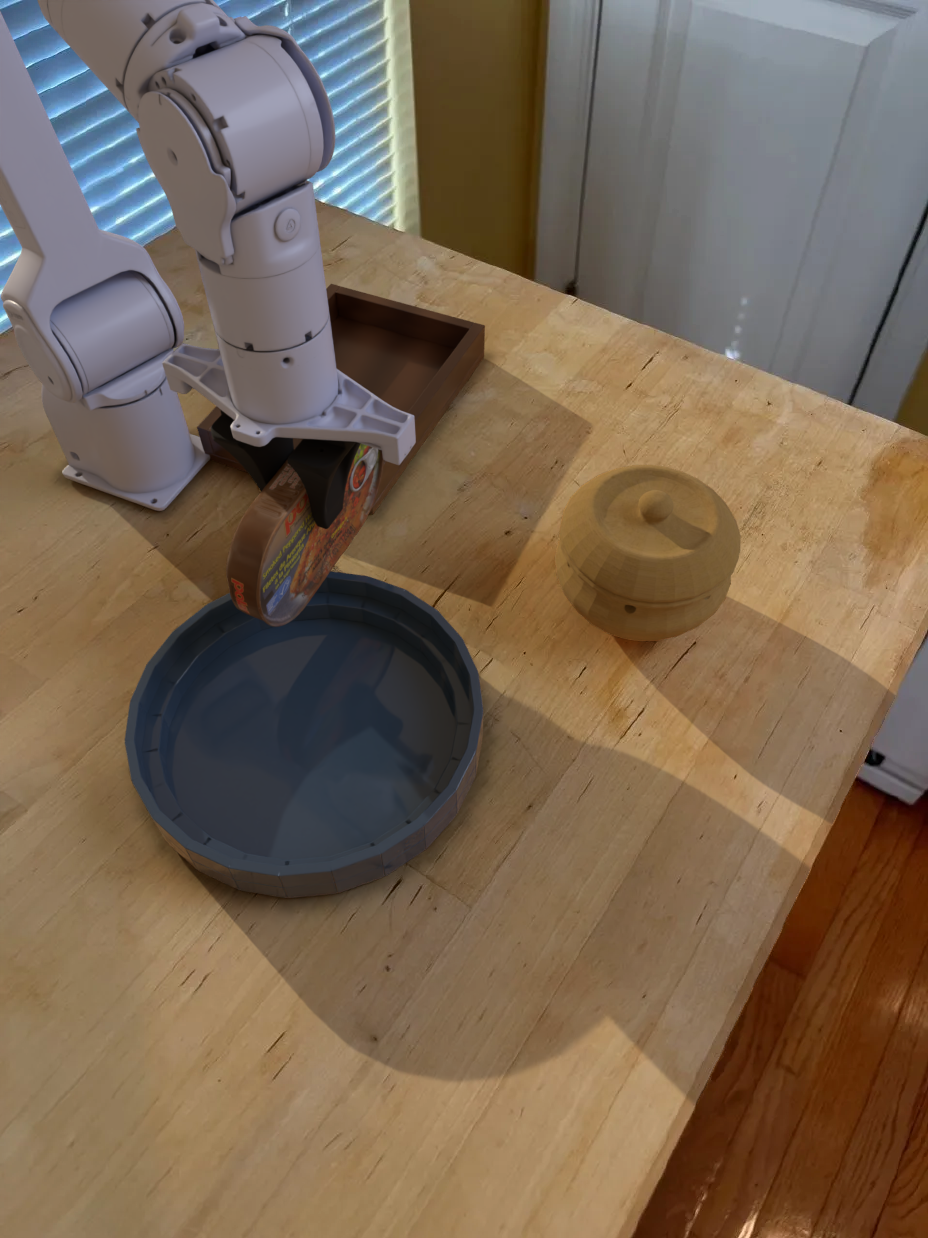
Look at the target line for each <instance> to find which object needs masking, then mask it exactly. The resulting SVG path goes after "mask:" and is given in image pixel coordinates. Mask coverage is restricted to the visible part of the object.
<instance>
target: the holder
mask: <svg viewBox="0 0 928 1238" xmlns="http://www.w3.org/2000/svg"><path fill="white" fill-rule="evenodd" d="M326 291H327V299H328V307H329V314H330V322H331V330H332V338H333V345H334V353H335V361H336V368H337V369H338V370H339V371H341V372H342V373H344V374H345V375H346V376H348V377H349V378H351V379H352V380H354V381H355V382H357V383H358V384H360V385H361V386H362V387H364V388H365V389H367V390H368V391H370V392H371V393H373V394H374V395H376V396H377V397H378V398H380V399H381V400H383V401H384V402H386V403H387V404H389V405H391V406H392V407H394V408H396V409H398V410H401V411H403V412H406V413H409V414H411V415H414V418H415V437H416V443H415V444H414V446H413V447H412V449H411V450H410V452H409V453H408V455H407V456H406V457H405V458H404V460H403V461H402V462H401V464H400V465H396V464H393V463H390V462H387V461H385V460H384V461H383V470H382V476H381V481H380V485H379V489H378V493H377V495H376V498H375V501H374V504H373V506H372V508H371V510H370V513H369V515H374V514H375V512H376V511H377V510H378V508H379V507H380V506H381V504H382V502H383V501H384V500H385V498H386V497H387V495H388V494H389V493H390V491H391V490H392V488H393V487H394V486H395V484H396V483H397V481H398V480H399V479H400V478H401V476H402V474H403V473H404V472H405V470H406V469H407V467H408V466H409V465H410V463H411V461H412V460H413V459H414V457H415V456H416V455H417V453H418V451H419V450H420V449H421V447H423V445H424V443H425V442H426V440H427V439H428V438H429V436H430V435H431V433H432V432H433V430H434V429H435V427H436V426H437V425H438V423H439V422H440V420H441V419H442V418H443V417H444V415H445V413H446V412H447V411H448V409H449V408H450V407H451V405H452V404H453V402H454V401H455V399H456V398H457V396H458V395H459V394H460V393H461V391H462V389H463V388H464V386H466V384H467V382H468V381H469V380H470V378H471V376H472V375H473V374H474V372H475V371H476V369H477V368H478V367H479V365H480V364H481V363H482V361H483V360H484V358H485V345H486V344H485V340H486V339H485V335H486V325H485V324H481V323H478V322H474V321H471V320H466V319H463V318H460V317H455V316H452V315H449V314H444V313H441V312H437V311H434V310H430V309H426V308H422V307H418V306H415V305H412V304H407V303H404V302H401V301H396V300H392V299H390V298H389V299H388V298H385V297H382V296H378V295H374V294H371V293H367V292H363V291H360V290H357V289H352V288H348V287H345V286H341V285H339V284H335V283H330V284H329V285H328V286H326ZM220 416H221V409H219V408H218V407H217V406H216V405H215V407H214V408H213V409H212V410H211V411H210V412H209V413H208V415H206V417H204V418H203V420H201V422H200V423H199V424H198V425H197V426H196V430H197V432H198V437H200V440H201V443H202V446H203V450H204V453H205V454H208V455H210V460H209V461H212V462H215V463H218V464H221V465H224V466H227V467H229V468H233V469H235V470H239V471H242V472H245V473H247V474H249V473H248V472H247V471H246V470H245V468H244V467H243V466H242V465H241V464H240V463H239V462H238V461H237V460H236V459H235V458H234V457H233V456H232V455H231V454H230V453H229V452H228V451H227V450H225V449H224V448H223V447H222V446H220V445H219V444H218V443H216V442H215V441H214V440H213V437H212V433H211V427H212V425H213V423H214V422H215V421H216V420H217V419H218V418H219V417H220ZM302 440H303V439H300V438H293V445H294V449H295V448H296V447H297V446H298V444H299V443H300V442H301V441H302Z"/></svg>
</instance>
